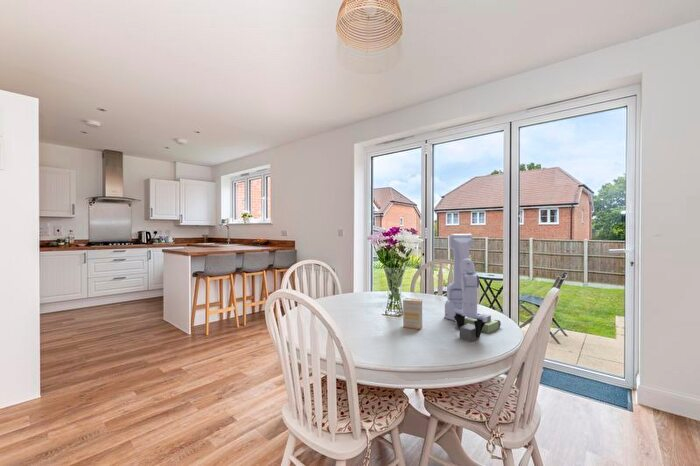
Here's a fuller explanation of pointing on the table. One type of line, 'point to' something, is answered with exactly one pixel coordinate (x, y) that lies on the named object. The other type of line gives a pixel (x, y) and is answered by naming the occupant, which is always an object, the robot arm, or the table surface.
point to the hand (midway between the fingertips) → (469, 334)
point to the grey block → (468, 332)
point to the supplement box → (412, 313)
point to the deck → (488, 327)
